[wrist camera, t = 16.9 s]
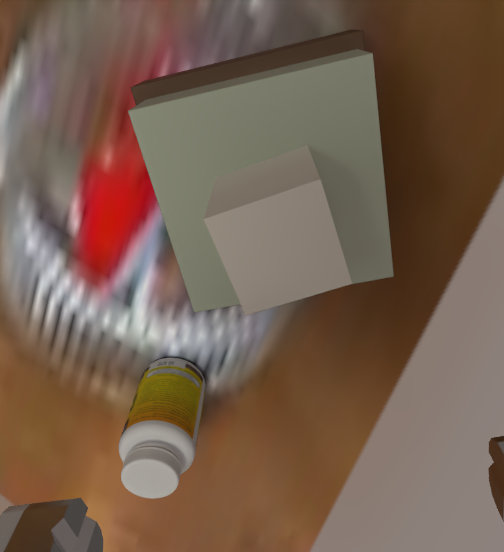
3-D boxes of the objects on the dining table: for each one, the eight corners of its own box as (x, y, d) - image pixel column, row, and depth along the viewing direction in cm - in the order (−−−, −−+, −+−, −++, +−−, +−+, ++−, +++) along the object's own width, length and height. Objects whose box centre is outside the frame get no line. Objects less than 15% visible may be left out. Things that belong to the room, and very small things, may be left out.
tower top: (145, 99, 27) (128, 111, 23) (357, 49, 25) (372, 52, 22) (201, 281, 32) (194, 312, 29) (378, 247, 31) (393, 276, 27)
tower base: (145, 80, 30) (130, 87, 27) (350, 29, 29) (362, 30, 25) (200, 259, 36) (194, 285, 33) (372, 225, 35) (385, 248, 31)
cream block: (215, 177, 25) (203, 219, 20) (307, 144, 24) (320, 179, 19) (248, 258, 27) (245, 315, 22) (333, 231, 26) (352, 283, 21)
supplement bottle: (136, 355, 40) (100, 452, 31) (202, 352, 40) (184, 449, 31) (148, 405, 43) (117, 507, 34) (209, 402, 42) (195, 505, 33)
